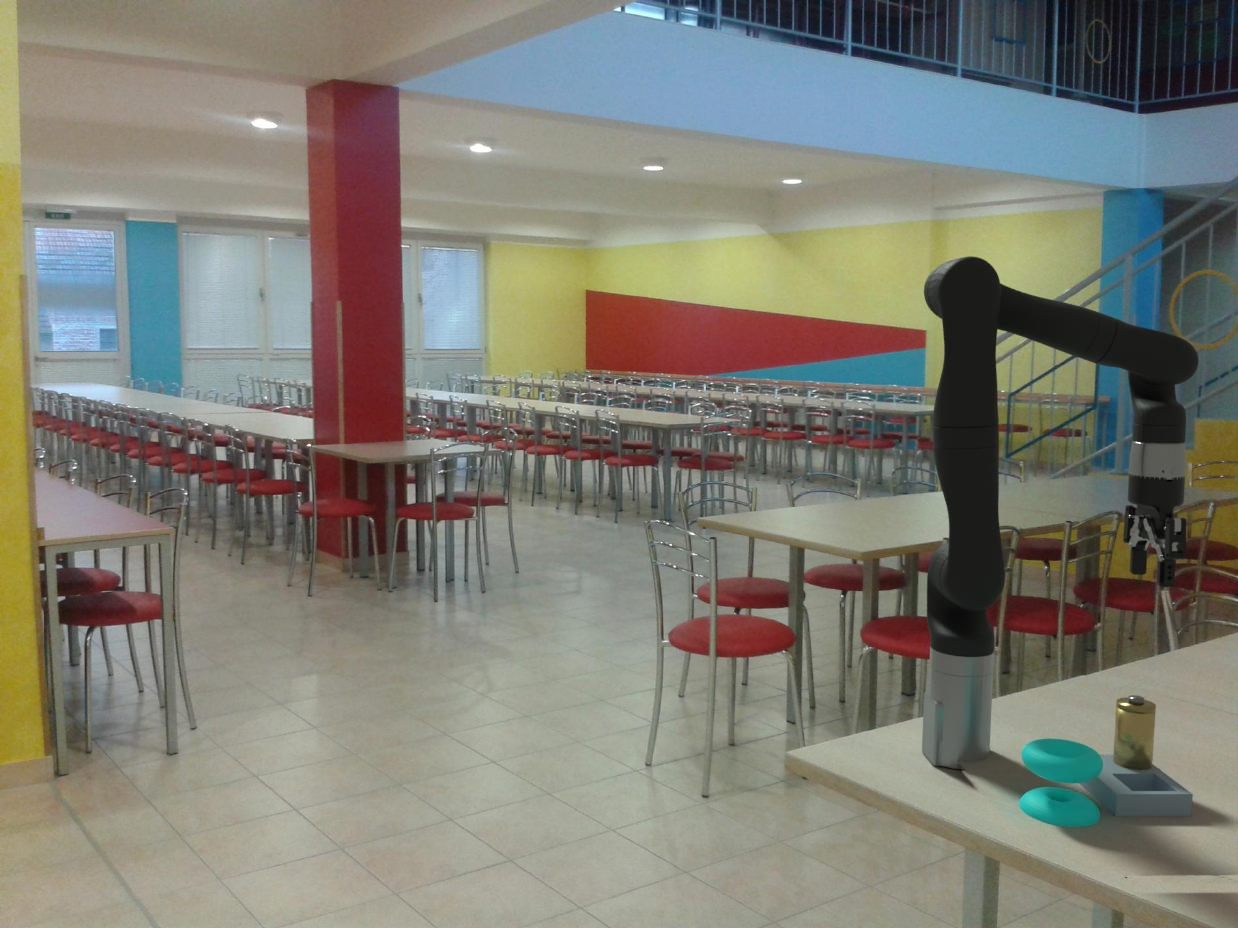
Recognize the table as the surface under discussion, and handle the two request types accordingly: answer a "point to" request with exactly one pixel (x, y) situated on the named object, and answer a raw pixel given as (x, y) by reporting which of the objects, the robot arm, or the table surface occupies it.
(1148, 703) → the gold battery
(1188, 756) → the table surface
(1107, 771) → the housing
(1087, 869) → the table surface
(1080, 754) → the donuts
